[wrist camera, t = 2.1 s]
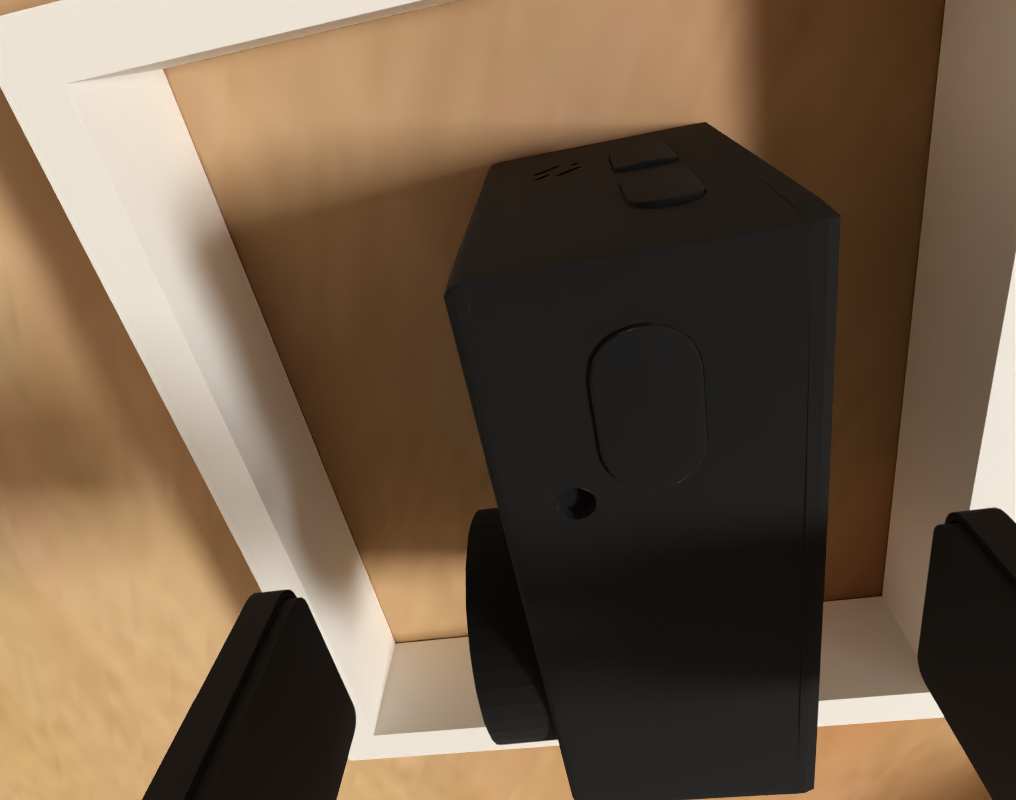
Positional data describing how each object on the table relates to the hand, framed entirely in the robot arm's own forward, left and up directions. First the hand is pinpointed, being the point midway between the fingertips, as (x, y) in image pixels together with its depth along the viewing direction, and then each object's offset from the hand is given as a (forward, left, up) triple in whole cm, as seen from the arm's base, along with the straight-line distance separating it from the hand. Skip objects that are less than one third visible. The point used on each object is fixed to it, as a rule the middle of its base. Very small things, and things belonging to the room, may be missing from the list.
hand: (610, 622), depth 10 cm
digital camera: (-1, 0, -7) cm, 7 cm away
